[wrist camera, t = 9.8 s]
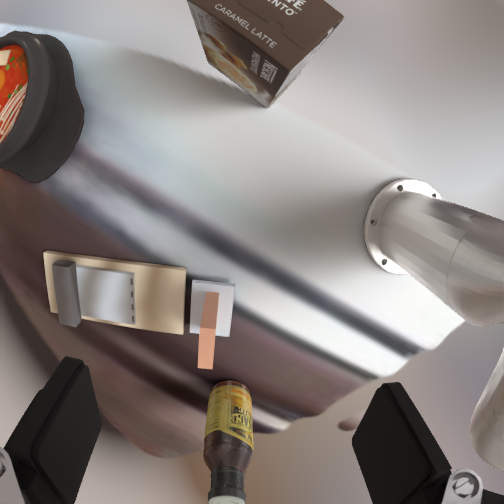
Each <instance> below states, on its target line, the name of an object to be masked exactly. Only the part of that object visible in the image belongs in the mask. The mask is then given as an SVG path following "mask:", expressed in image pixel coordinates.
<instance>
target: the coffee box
mask: <svg viewBox="0 0 504 504" xmlns="http://www.w3.org/2000/svg"><path fill="white" fill-rule="evenodd" d="M187 2H188V5H189V8H190V11H191V13H192V16H193V19H194V22H195V25H196V28H197V31H198V34H199V37H200V39H201V43H202V45H203V49H204V51H205V55H206V58H207V61H208V63H209V64H210V65H212V66H213V67H214V68H216V69H217V70H218V71H220V72H221V73H222V74H224V75H225V76H226V77H228V78H229V79H230V80H232V81H233V82H234V83H236V84H237V85H238V86H239V87H241V88H242V89H243V90H245V91H246V92H247V93H248V94H250V95H251V96H252V97H253V98H255V99H256V100H257V101H258V102H260V103H261V104H262V105H263V106H265V107H266V108H269V107H270V106H271V105H272V104H273V103H274V102H275V101H276V100H277V99H278V98H279V97H280V96H281V94H282V93H283V92H284V91H285V90H286V89H287V88H288V87H289V86H290V85H291V84H292V83H293V81H294V80H295V79H296V78H297V77H298V76H299V74H300V72H301V70H302V69H303V68H304V66H305V65H306V64H307V63H308V62H309V60H310V59H311V58H312V56H313V55H314V54H315V52H316V51H317V50H318V49H319V47H320V46H321V45H322V44H323V43H324V41H325V40H326V39H327V38H328V37H329V35H330V34H331V33H332V32H333V31H334V29H335V28H336V27H337V26H338V25H339V24H340V22H341V21H342V20H343V18H344V16H343V15H342V14H341V13H339V12H338V11H337V10H335V9H334V8H333V7H331V6H330V5H329V4H328V3H326V2H325V1H324V0H187Z"/></svg>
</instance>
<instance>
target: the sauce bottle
mask: <svg viewBox="0 0 504 504" xmlns="http://www.w3.org/2000/svg"><path fill="white" fill-rule="evenodd" d="M204 444H205V445H204V454H203V456H204V461H205V463H206V465H207V466H208V468H209V469H210V471H211V490H210V492H209V494H208V502H209V504H245V502H246V494H245V492H244V475H245V472H246V470H247V468H248V465H249V463H250V460H251V458H252V455H253V427H252V407H251V397H250V393H249V390H248V388H247V387H246V386H245V385H243V384H241V383H239V382H237V381H234V380H230V381H222V382H219V383H218V384H216V385H215V386H214V387H213V388H212V389H211V392H210V396H209V403H208V411H207V420H206V428H205V437H204Z"/></svg>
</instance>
